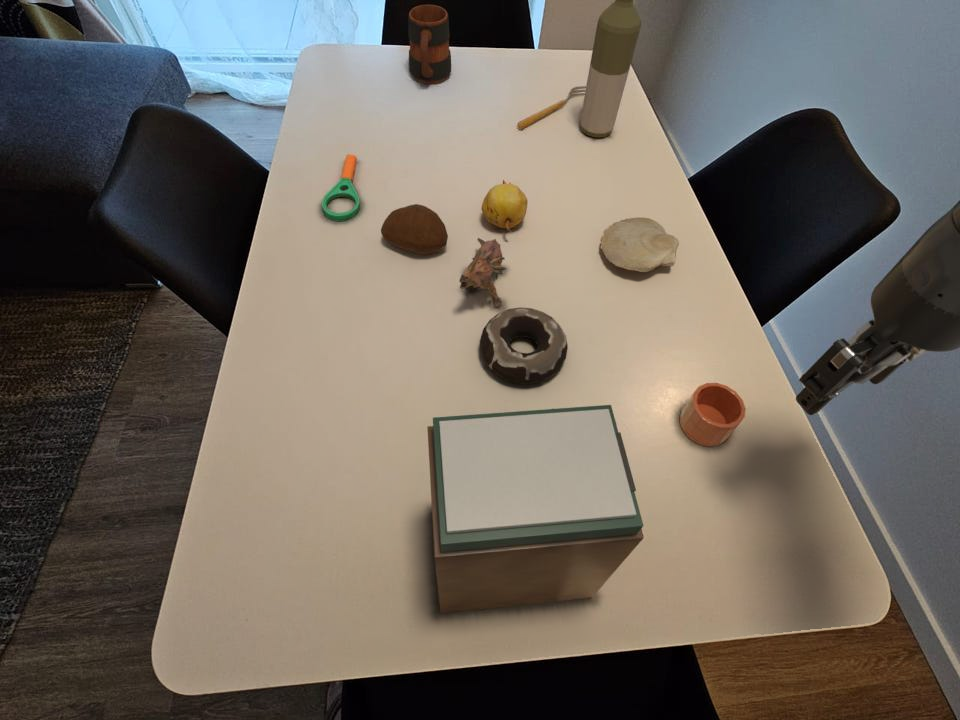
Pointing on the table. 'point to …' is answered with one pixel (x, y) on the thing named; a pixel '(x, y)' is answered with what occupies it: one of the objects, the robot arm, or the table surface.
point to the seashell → (639, 244)
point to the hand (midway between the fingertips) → (837, 391)
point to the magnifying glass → (343, 192)
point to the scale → (532, 478)
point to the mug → (429, 44)
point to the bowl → (712, 414)
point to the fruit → (504, 205)
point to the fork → (550, 108)
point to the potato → (415, 229)
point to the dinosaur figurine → (484, 269)
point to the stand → (522, 567)
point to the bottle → (609, 67)
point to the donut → (523, 364)
